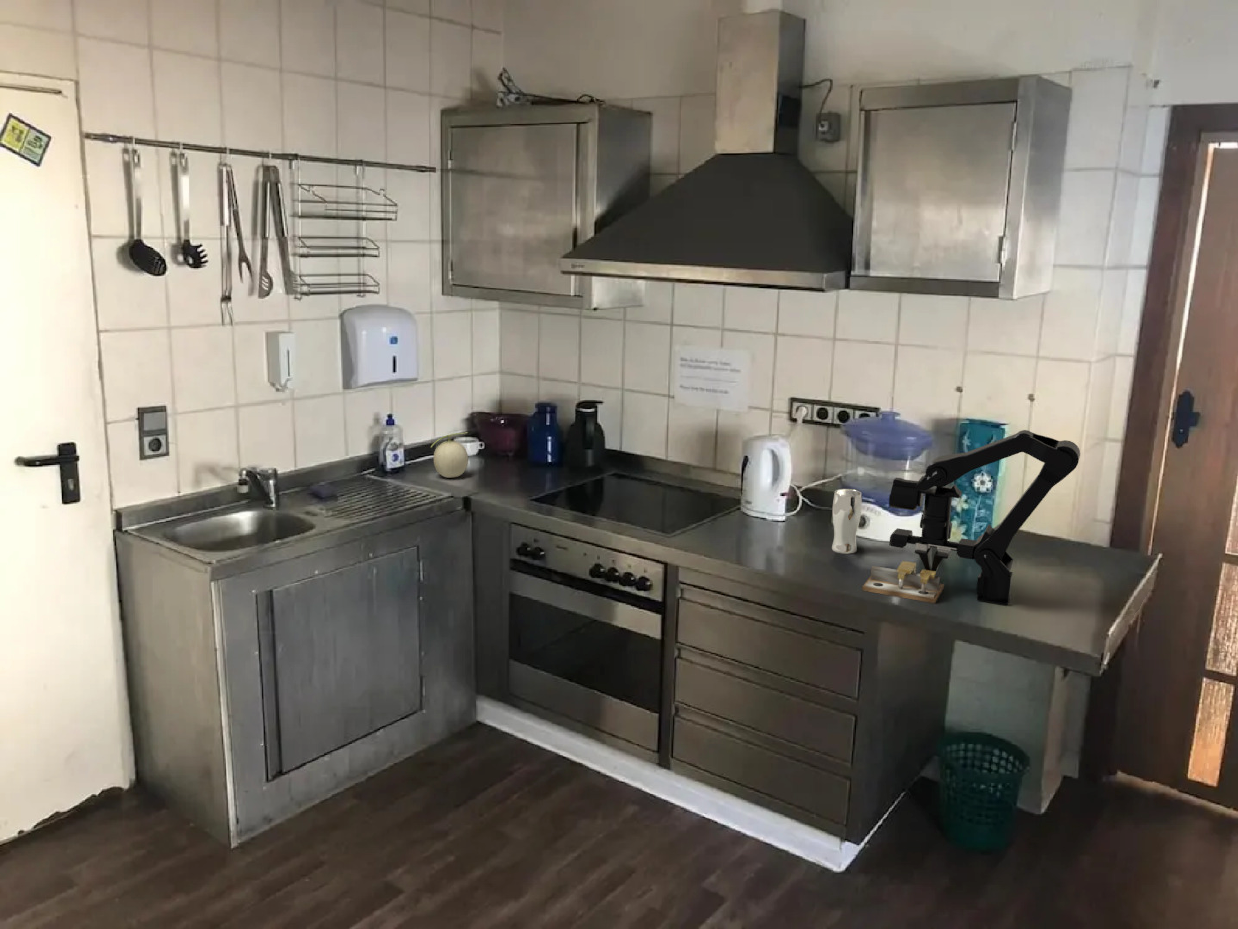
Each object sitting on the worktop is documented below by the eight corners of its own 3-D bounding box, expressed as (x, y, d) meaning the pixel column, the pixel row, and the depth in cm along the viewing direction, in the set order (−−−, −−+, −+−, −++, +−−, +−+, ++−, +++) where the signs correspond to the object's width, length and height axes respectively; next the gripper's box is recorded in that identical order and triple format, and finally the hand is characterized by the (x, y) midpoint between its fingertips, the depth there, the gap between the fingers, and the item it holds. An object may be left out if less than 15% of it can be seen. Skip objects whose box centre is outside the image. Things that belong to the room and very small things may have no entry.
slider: (914, 578, 235) (916, 563, 234) (906, 590, 228) (908, 575, 227) (901, 576, 236) (902, 560, 236) (893, 588, 229) (894, 572, 228)
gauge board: (943, 588, 233) (945, 568, 232) (935, 603, 224) (937, 582, 223) (873, 576, 240) (874, 556, 239) (862, 590, 231) (863, 570, 230)
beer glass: (833, 543, 262) (836, 487, 258) (860, 547, 259) (864, 490, 256) (827, 552, 256) (831, 494, 252) (855, 556, 253) (859, 497, 249)
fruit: (427, 474, 323) (426, 428, 319) (463, 471, 327) (462, 425, 324) (435, 483, 314) (434, 435, 310) (472, 479, 318) (471, 432, 314)
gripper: (986, 510, 231) (979, 575, 235) (902, 498, 239) (897, 561, 244) (978, 523, 222) (971, 591, 226) (891, 510, 230) (886, 576, 234)
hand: (930, 579), depth 232 cm, fingers closed
